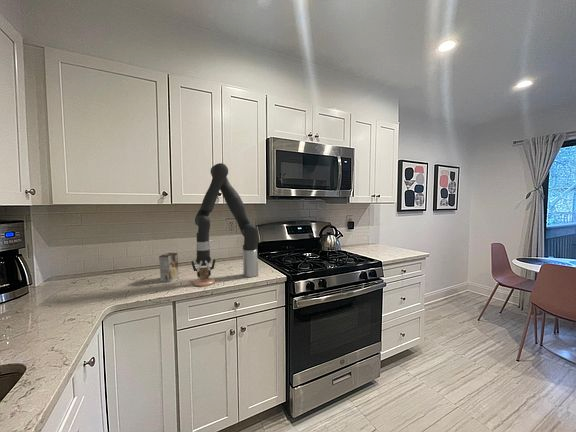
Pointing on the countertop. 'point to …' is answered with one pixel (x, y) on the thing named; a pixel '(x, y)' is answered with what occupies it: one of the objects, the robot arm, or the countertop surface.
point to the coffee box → (168, 267)
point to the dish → (204, 282)
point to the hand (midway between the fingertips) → (203, 276)
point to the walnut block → (204, 273)
